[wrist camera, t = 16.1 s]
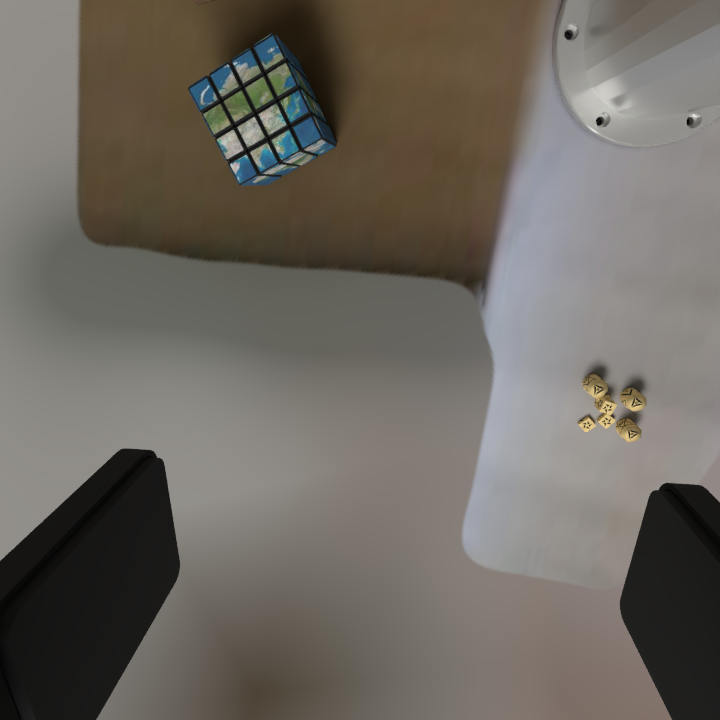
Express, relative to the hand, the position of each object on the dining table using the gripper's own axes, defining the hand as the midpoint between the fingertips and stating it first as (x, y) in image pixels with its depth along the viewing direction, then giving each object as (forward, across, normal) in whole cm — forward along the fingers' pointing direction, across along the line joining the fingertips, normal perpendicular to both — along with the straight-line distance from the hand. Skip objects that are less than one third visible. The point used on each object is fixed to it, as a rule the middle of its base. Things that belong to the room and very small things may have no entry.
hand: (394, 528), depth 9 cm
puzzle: (+29, +9, -10) cm, 32 cm away
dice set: (+29, -17, +10) cm, 35 cm away
